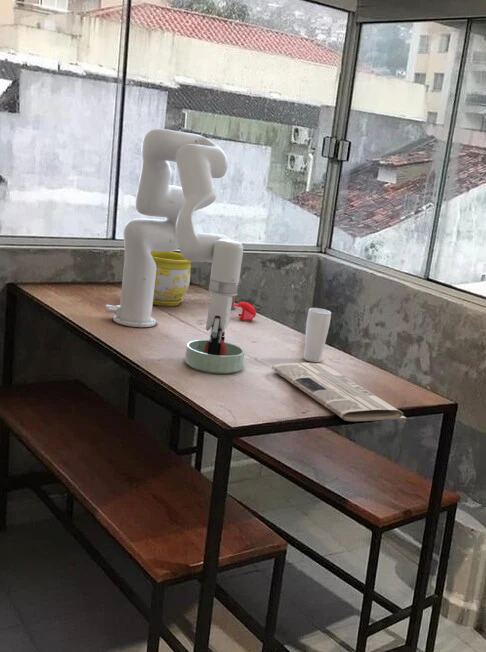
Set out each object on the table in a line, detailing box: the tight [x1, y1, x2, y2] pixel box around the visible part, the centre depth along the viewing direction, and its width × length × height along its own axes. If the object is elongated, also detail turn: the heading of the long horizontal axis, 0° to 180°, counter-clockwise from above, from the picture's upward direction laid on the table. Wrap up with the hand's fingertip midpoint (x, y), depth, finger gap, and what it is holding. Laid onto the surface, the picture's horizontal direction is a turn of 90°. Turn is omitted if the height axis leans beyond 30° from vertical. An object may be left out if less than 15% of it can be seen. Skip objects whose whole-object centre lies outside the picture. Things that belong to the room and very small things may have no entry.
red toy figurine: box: [234, 301, 257, 322], centre depth 273 cm, size 8×6×6 cm
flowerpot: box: [151, 251, 192, 307], centre depth 278 cm, size 18×18×16 cm
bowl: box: [184, 339, 246, 375], centre depth 215 cm, size 15×15×5 cm
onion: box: [205, 334, 227, 356], centre depth 215 cm, size 6×6×8 cm
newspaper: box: [271, 362, 409, 422], centre depth 208 cm, size 37×19×3 cm, turn 31°
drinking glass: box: [303, 307, 332, 363], centre depth 236 cm, size 7×7×15 cm
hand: (215, 352), depth 215 cm, fingers closed on onion, 6 cm apart
